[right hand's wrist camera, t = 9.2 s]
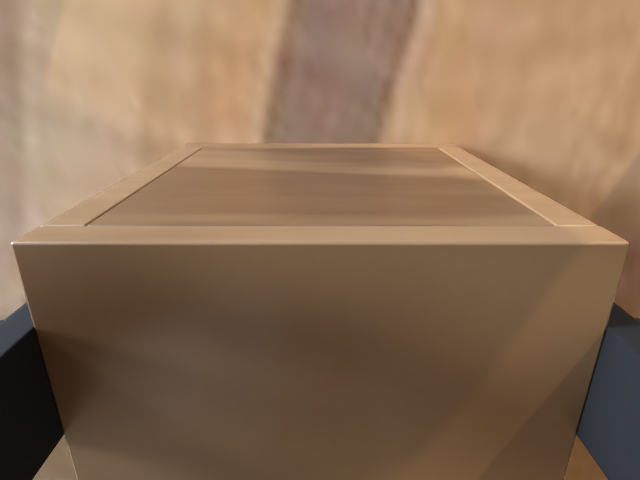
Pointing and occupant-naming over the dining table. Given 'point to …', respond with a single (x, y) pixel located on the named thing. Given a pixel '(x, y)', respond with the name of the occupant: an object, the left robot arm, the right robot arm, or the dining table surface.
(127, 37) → the dining table surface
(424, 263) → the cabinet
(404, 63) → the dining table surface
